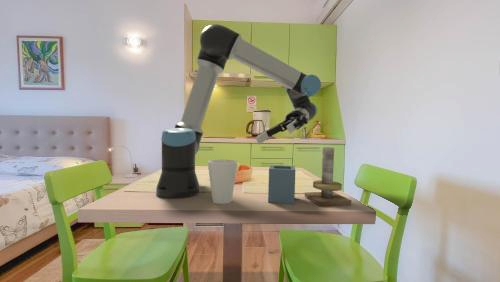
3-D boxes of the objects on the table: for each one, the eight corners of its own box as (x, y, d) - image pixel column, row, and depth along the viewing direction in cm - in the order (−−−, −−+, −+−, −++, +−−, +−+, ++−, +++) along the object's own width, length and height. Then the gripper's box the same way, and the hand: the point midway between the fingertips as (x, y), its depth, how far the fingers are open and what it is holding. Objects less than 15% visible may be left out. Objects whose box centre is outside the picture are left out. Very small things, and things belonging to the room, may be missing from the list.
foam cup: (231, 206, 72) (232, 164, 72) (203, 204, 74) (203, 162, 74) (239, 198, 82) (240, 160, 81) (213, 195, 83) (214, 159, 83)
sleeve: (270, 195, 86) (270, 165, 85) (293, 197, 84) (294, 166, 84) (268, 202, 77) (269, 168, 77) (294, 204, 76) (295, 170, 75)
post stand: (304, 196, 85) (306, 146, 84) (332, 195, 87) (334, 146, 86) (319, 206, 74) (321, 148, 73) (351, 205, 76) (353, 149, 76)
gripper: (328, 117, 91) (308, 134, 75) (276, 135, 107) (251, 153, 90) (320, 98, 90) (298, 113, 74) (269, 120, 106) (242, 135, 90)
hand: (272, 135), depth 82 cm, fingers open, 13 cm apart
